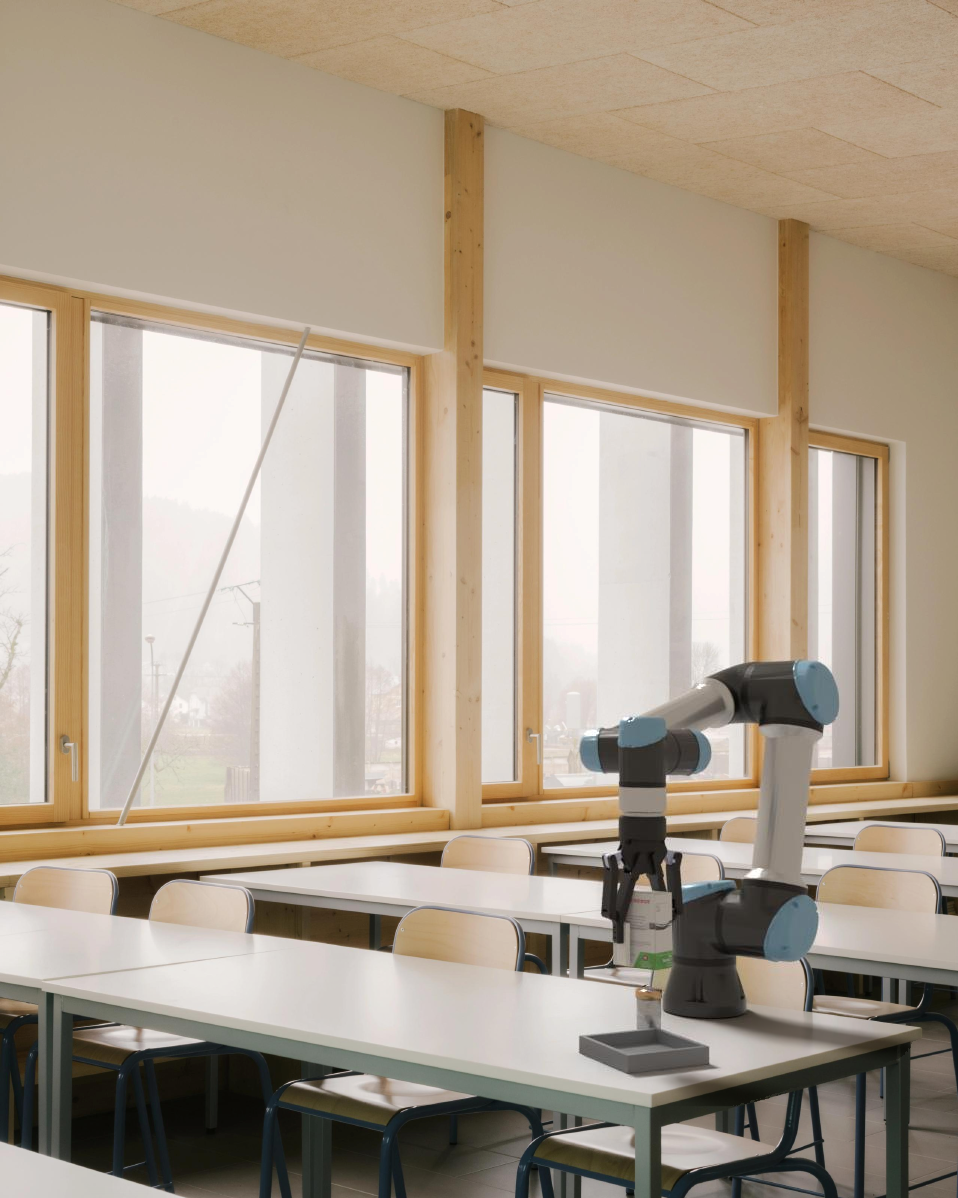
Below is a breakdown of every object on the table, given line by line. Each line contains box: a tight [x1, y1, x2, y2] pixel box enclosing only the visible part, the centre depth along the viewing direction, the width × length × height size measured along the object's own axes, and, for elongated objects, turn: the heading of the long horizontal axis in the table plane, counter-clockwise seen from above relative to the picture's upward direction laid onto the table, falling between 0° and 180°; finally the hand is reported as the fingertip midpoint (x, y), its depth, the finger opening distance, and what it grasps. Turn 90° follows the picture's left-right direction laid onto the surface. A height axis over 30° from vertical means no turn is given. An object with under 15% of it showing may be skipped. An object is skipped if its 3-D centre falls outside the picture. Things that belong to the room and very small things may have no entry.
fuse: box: [634, 986, 663, 1030], centre depth 233 cm, size 4×4×8 cm
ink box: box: [612, 888, 673, 971], centre depth 221 cm, size 9×5×12 cm, turn 46°
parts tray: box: [578, 1028, 710, 1074], centre depth 219 cm, size 15×15×3 cm
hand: (642, 963), depth 220 cm, fingers closed on ink box, 6 cm apart
